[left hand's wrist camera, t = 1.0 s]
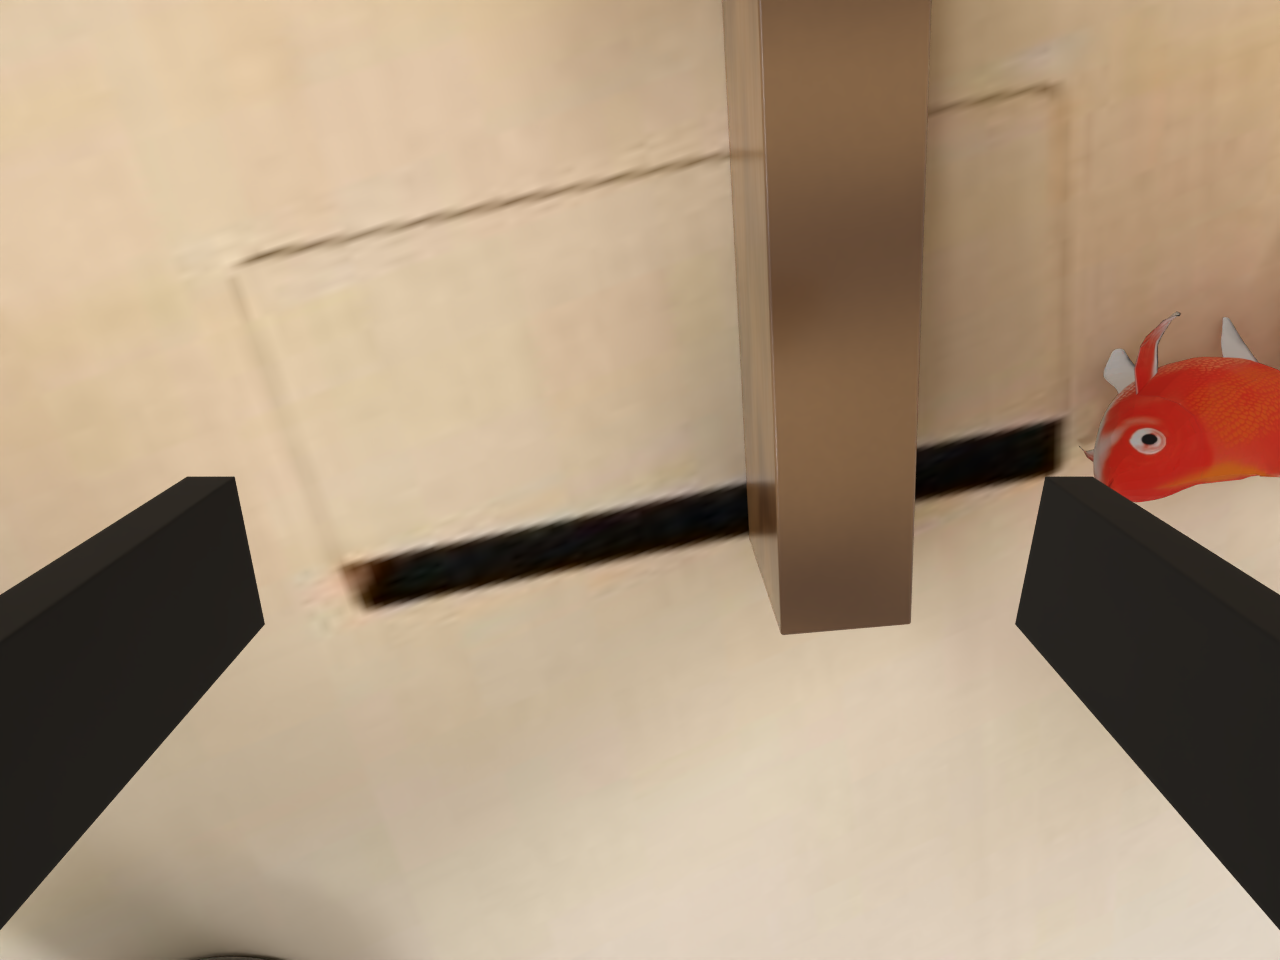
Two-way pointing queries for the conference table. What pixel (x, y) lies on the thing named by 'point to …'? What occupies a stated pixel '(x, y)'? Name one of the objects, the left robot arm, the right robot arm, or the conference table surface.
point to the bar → (829, 296)
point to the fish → (1187, 420)
